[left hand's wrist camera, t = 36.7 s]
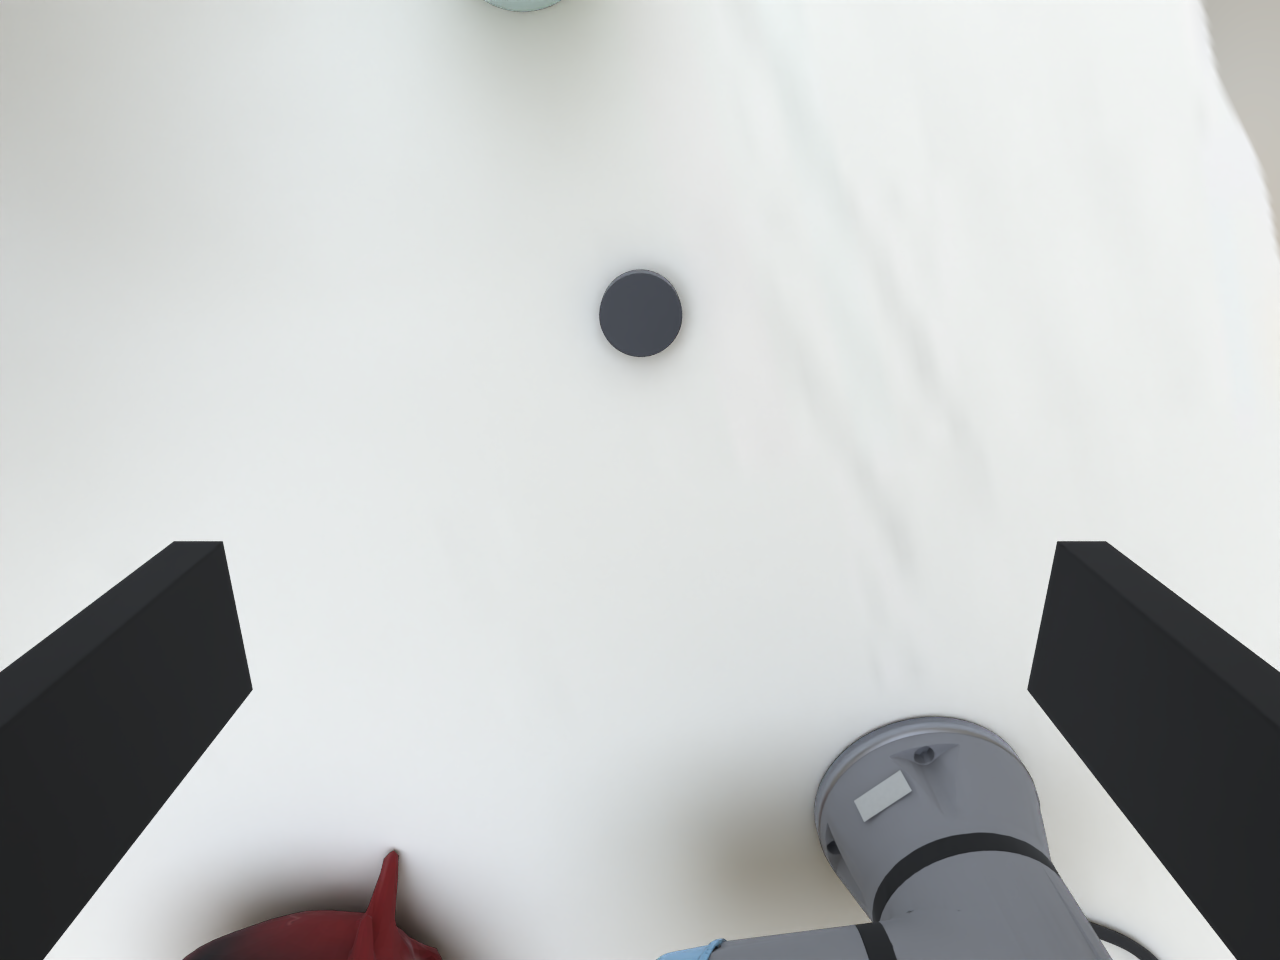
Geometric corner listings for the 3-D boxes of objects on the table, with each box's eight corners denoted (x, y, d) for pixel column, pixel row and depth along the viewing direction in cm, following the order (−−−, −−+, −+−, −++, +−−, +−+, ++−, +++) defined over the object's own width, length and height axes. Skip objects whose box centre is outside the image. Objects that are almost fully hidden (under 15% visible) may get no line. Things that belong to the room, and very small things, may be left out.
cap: (643, 252, 43) (643, 254, 41) (696, 312, 45) (699, 318, 43) (584, 308, 44) (582, 313, 42) (638, 365, 46) (638, 373, 44)
